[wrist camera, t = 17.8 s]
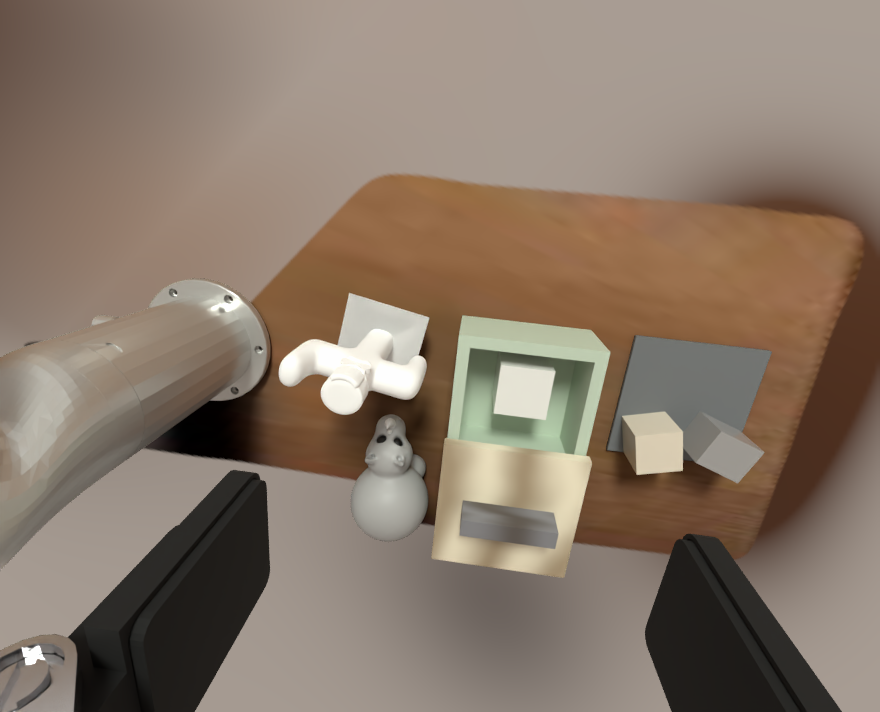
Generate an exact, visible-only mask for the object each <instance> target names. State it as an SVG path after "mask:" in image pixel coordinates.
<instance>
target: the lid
mask: <svg viewBox="0 0 880 712" xmlns="http://www.w3.org/2000/svg"><path fill="white" fill-rule="evenodd" d="M591 466H592V462H591V459H590V457H589V456H581V455H573V454H565V453H558V452H550V451H542V450H535V449H527V448H519V447H512V446H504V445H496V444H488V443H481V442H473V441H465V440H458V439H450V438H445V441H444V449H443V458H442V467H441V476H440V485H439V494H438V503H437V512H436V521H435V530H434V539H433V548H432V557H431V558H432V559H437V560H444V561H451V562H458V563H465V564H472V565H478V566H486V567H492V568H499V569H506V570H513V571H520V572H527V573H533V574H540V575H547V576H554V577H561V578H564V576H565V572H566V567H567V564H568V560H569V555H570V551H571V547H572V543H573V539H574V535H575V531H576V527H577V523H578V519H579V515H580V511H581V506H582V502H583V498H584V494H585V490H586V486H587V482H588V478H589V474H590V470H591Z"/></svg>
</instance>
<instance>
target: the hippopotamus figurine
mask: <svg viewBox="0 0 880 712" xmlns="http://www.w3.org/2000/svg"><path fill="white" fill-rule="evenodd" d="M405 432H406V427H405V423H404V421H403V420H402V419H401V418H400V417H398V416H396V415H393V414H389V415H386V416H383V417H382V418H381V419H380V420H379V421H378V423H377V425H376V430H375V434H374V437H373V439H372V440H371V442H370V443H369V445H368V447H367V450H366V458H365V462H366V463H367V464H368V468H367V469H366V470H365V471H364V472H363V473H362V474H361V475H360V476H359V478H358V479H357V481H356V483H355V485H354V487H353V490H352V494H351V511H352V515H353V517H354V520H355V522H356V523H357V525H358V526H359V528H360V529H361V530H362V531H363V532H364V533H365V534H367V535H368V536H370V537H372V538H374V539H376V540H380V541H396V540H400V539H402V538H405V537H407V536H408V535H410V534H411V533H412V532H414V531H415V530H416V529H417V528H418V527H419V525H420V524H421V522H422V521H423V519H424V517H425V514H426V511H427V507H428V492H427V488H426V485H425V482H424V480H423V479H422V477H423V476H424V474H425V471H426V464H425V461H424V460H423V459H422V458H421V457H420V456H418V455H415V454H413V451H412V447H411V445H410V443H409V442H408V440H407V439H406V436H405Z"/></svg>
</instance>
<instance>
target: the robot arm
mask: <svg viewBox="0 0 880 712" xmlns="http://www.w3.org/2000/svg"><path fill="white" fill-rule="evenodd" d="M231 297H232V298H233V299H232V298H231ZM261 347H262V348H261ZM270 350H271V345H270V339H269V334H268V331H267V328H266V326H265V323H264V321H263V319H262V318H261V316H260V314H259V313H258V311H257V310H256V309H255V307H254V306H253V305H252V304H251V302H250V301H249V300H247V299H246V298H245V297H244V296H243V295H242V294H241V293H239V292H237V291H236V290H234V289H233V288H231V287H230V286H228V285H225V284H223V283H220V282H218V281H214V280H209V279H202V278H200V279H199V278H192V279H188V280H183V281H179V282H176V283H173V284H170V285H169V286H167V287H165V288H164V289H162V290H161V291H160V292H159V293H158V294H157V295H156V296H155V297H154V298H153V300H152V302H151V303H150V305H149V307H148V309H145V310H142V311H139V312H136V313H133V314H129V315H126V316H123V317H120V318H119V317H112V316H104V315H99V316H96V317H95V318H94V319H93V322H92V326H91V327H88V328H85V329H81V330H78V331H74V332H71V333H68V334H65V335H61V336H58V337H55V338H52V339H49V340H45V341H42V342H38V343H35V344H32V345H29V346H25V347H22V348H20V349H17V350H15V351H12V352H10V353H8V354H6V355H4V356H2V357H0V570H1V569H2V568H3V567H4V566H5V565H6V564H7V563H8V562H9V561H10V560H11V559H12V558H13V557H14V556H15V555H16V554H17V552H19V551H20V550H21V549H22V547H23V546H24V545H25V544H26V543H27V542H28V541H29V540H30V539H31V538H32V537H33V536H34V535H35V534H36V533H37V532H38V531H39V530H40V529H41V528H42V527H43V526H44V525H45V524H46V523H47V522H48V521H49V520H50V519H52V518H53V517H54V516H55V515H56V514H57V513H58V512H59V511H60V510H62V509H63V508H64V507H65V506H66V505H67V504H69V503H70V502H71V501H72V500H74V499H75V498H76V497H77V496H79V495H80V494H81V493H82V492H83V491H85V490H86V489H87V488H88V487H90V486H91V485H93V484H94V483H95V482H96V481H98V480H99V479H101V478H102V477H103V476H105V475H106V474H107V473H109V472H110V471H111V470H113V469H114V468H116V467H117V466H119V465H120V464H121V463H123V462H124V461H125V460H127V459H129V458H130V457H131V456H133V455H134V454H136V453H137V452H138V451H140V450H141V449H143V448H144V447H145V446H147V445H148V444H150V443H151V442H152V441H154V440H155V439H157V438H158V437H159V436H161V435H162V434H164V433H165V432H166V431H168V430H169V429H170V428H172V427H173V426H175V425H176V424H177V423H179V422H180V421H182V420H183V419H184V418H186V417H187V416H189V415H190V414H191V413H193V412H194V411H196V410H197V409H198V408H200V407H201V406H203V405H204V404H205V403H207V402H208V401H225V400H231V399H234V398H237V397H240V396H242V395H244V394H245V393H247V392H248V391H250V390H251V389H252V388H254V387H255V386H256V385H257V384H258V383H259V382H260V380H261V379H262V378H263V377H264V375H265V373H266V370H267V368H268V365H269V361H270ZM269 573H270V561H269V536H268V512H267V488H266V483H265V481H262V480H260V477H259V475H258V474H257V473H251V472H245V471H237V470H233V471H230V472H229V473H228V474H227V475H226V476H225V477H224V478H223V479H222V480H221V481H220V482H219V483H218V484H217V485H216V487H215V488H214V489H213V490H212V491H211V492H210V493H209V494H208V495H207V496H206V497H205V498H204V499H203V500H202V501H201V502H200V503H199V504H198V506H197V507H196V508H195V509H194V510H193V511H192V512H191V513H190V514H189V515H188V516H187V517H186V518H185V519H184V520H183V521H182V522H181V524H180V525H178V526H175V527H174V528H173V529H172V530H171V531H169V532H168V533H167V534H166V535H165V537H164V538H163V539H162V540H161V541H160V542H159V543H158V544H157V545H156V546H155V547H154V548H153V549H152V550H151V551H150V552H149V553H148V554H147V555H146V556H145V558H144V559H143V560H142V561H141V562H140V563H139V564H138V565H137V566H136V567H135V568H134V569H133V570H132V571H131V572H130V573H129V574H128V575H127V576H126V577H125V578H124V580H122V582H120V584H119V585H118V586H117V587H116V588H115V589H114V590H113V591H112V592H111V593H110V594H109V595H108V596H107V597H106V598H105V599H104V600H103V601H102V602H101V603H100V604H99V605H98V607H97V608H96V609H95V610H94V611H93V612H92V613H91V614H90V615H89V616H88V617H87V618H86V619H85V620H84V621H83V622H82V623H81V624H80V625H79V626H78V627H77V628H76V630H75V631H74V632H73V633H72V634H71V635H70V636H69V637H64V636H61V635H57V634H52V635H39V636H36V637H32V638H28V639H25V640H22V641H19V642H17V643H15V644H13V645H10V646H8V647H6V648H4V649H2V650H0V712H195V710H196V708H197V707H198V705H199V703H200V701H201V699H202V698H203V696H204V694H205V693H206V691H207V689H208V687H209V685H210V684H211V682H212V680H213V679H214V677H215V675H216V673H217V671H218V670H219V668H220V666H221V664H222V663H223V661H224V659H225V657H226V655H227V654H228V652H229V650H230V649H231V647H232V645H233V643H234V641H235V640H236V638H237V636H238V634H239V633H240V631H241V629H242V627H243V626H244V624H245V622H246V620H247V618H248V617H249V615H250V613H251V611H252V610H253V608H254V606H255V604H256V603H257V601H258V599H259V597H260V596H261V594H262V592H263V590H264V588H265V586H266V584H267V582H268V578H269ZM645 639H646V644H647V647H648V650H649V653H650V655H651V658H652V660H653V663H654V666H655V669H656V671H657V674H658V677H659V679H660V682H661V684H662V687H663V690H664V693H665V695H666V698H667V700H668V703H669V706H670V708H671V711H672V712H842V711H841V710H840V708H839V707H838V706H837V704H836V703H835V701H834V700H833V699H832V697H831V696H830V695H829V693H828V692H827V690H826V689H825V687H824V686H823V685H822V683H821V682H820V680H819V679H818V678H817V676H816V675H815V673H814V672H813V671H812V669H811V668H810V666H809V665H808V663H807V662H806V661H805V659H804V658H803V657H802V655H801V654H800V652H799V651H798V649H797V648H796V647H795V645H794V644H793V642H792V641H791V640H790V638H789V637H788V635H787V634H786V633H785V631H784V630H783V628H782V627H781V626H780V624H779V623H778V621H777V620H776V619H775V617H774V616H773V614H772V613H771V612H770V610H769V609H768V607H767V606H766V604H765V603H764V602H763V600H762V599H761V598H760V596H759V595H758V593H757V592H756V590H755V589H754V588H753V586H752V585H751V584H750V582H749V581H748V579H747V578H746V576H745V575H744V574H743V572H742V571H741V569H740V568H739V567H738V565H737V564H736V562H735V561H734V560H733V558H732V557H731V555H730V554H729V552H728V551H727V550H726V548H725V547H724V545H723V544H722V543H721V542H720V540H719V539H717V538H715V537H709V536H702V535H695V534H686V535H685V536H684V537H683V539H682V540H681V539H679V540H677V541H676V542H675V544H674V547H673V550H672V553H671V556H670V559H669V562H668V565H667V567H666V570H665V573H664V576H663V579H662V582H661V585H660V587H659V590H658V594H657V596H656V599H655V602H654V605H653V608H652V611H651V614H650V617H649V619H648V622H647V625H646V630H645Z"/></svg>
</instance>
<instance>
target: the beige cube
mask: <svg viewBox="0 0 880 712" xmlns="http://www.w3.org/2000/svg"><path fill="white" fill-rule="evenodd" d="M622 432H623V452H624V454H625V455H626V457H627V459H628V461H629V462H630V464H631V466H632V468H633V469H634V471H635V473H636V475H640V474H652V473H663V472H675V471H683V431H682V430H681V429H680V428H679V427H678V425H677V424H676V423H675V422H674V421H673V420H672V419H671V418H670V416H669V415H668V414H667V413H666V412H655V413H646V414H636V415H627V416H622Z"/></svg>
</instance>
